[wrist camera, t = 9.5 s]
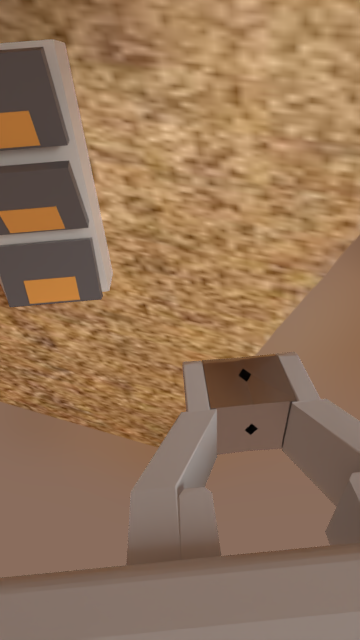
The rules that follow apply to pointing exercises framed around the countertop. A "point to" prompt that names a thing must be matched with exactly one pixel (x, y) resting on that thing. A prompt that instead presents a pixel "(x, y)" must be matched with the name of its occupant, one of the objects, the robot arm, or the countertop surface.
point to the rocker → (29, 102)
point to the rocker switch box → (71, 153)
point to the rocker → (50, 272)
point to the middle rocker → (40, 198)
